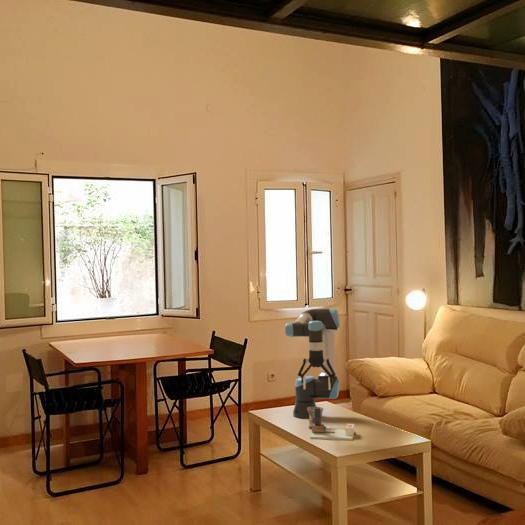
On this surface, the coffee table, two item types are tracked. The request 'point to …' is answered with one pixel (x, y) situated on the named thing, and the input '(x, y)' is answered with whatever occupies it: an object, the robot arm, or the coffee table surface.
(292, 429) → the coffee table surface
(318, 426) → the kicker
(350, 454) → the coffee table surface
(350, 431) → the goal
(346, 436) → the pitch
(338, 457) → the coffee table surface
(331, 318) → the robot arm
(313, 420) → the mug
